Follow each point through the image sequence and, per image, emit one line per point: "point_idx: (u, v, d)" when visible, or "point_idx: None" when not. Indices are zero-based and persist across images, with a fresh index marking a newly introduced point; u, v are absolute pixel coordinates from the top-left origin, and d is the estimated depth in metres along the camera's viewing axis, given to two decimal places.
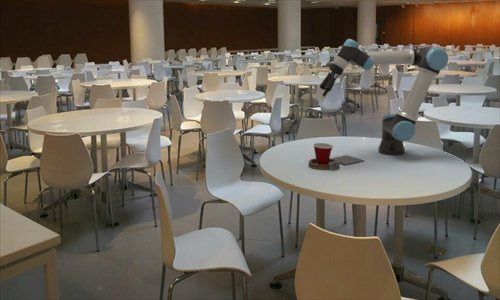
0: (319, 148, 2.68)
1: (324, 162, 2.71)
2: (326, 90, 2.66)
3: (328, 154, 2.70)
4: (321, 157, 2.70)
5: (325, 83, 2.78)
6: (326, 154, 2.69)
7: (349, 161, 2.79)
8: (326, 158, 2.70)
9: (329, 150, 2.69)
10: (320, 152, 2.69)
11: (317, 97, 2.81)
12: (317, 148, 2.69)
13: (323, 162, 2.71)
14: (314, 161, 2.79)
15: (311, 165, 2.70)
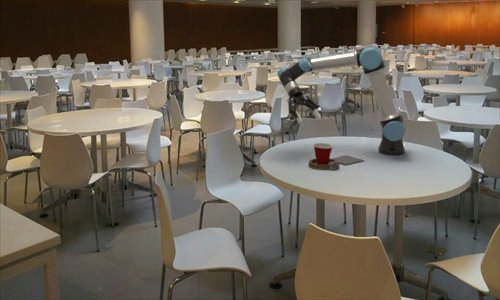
0: (319, 148, 2.68)
1: (324, 162, 2.71)
2: (293, 113, 2.76)
3: (328, 154, 2.70)
4: (321, 157, 2.70)
5: (308, 106, 2.84)
6: (326, 154, 2.69)
7: (349, 161, 2.79)
8: (326, 158, 2.70)
9: (329, 150, 2.69)
10: (320, 152, 2.69)
11: (318, 117, 2.81)
12: (317, 148, 2.69)
13: (323, 162, 2.71)
14: (314, 161, 2.79)
15: (311, 165, 2.70)
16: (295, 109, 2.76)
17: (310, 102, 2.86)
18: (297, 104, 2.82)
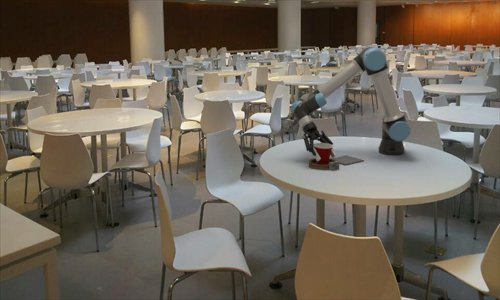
0: (319, 148, 2.68)
1: (324, 162, 2.71)
2: (311, 150, 2.70)
3: (328, 154, 2.70)
4: (321, 157, 2.70)
5: (322, 141, 2.77)
6: (326, 154, 2.69)
7: (349, 161, 2.79)
8: (326, 158, 2.70)
9: (329, 150, 2.69)
10: (320, 152, 2.69)
11: (333, 154, 2.74)
12: (317, 148, 2.68)
13: (323, 162, 2.71)
14: (314, 161, 2.79)
15: (311, 165, 2.70)
16: (313, 146, 2.70)
17: (324, 138, 2.79)
18: None
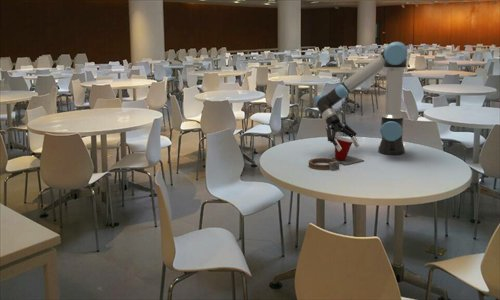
0: (340, 140, 2.76)
1: (343, 155, 2.79)
2: (332, 141, 2.78)
3: (348, 148, 2.78)
4: (341, 149, 2.78)
5: (346, 132, 2.86)
6: (346, 147, 2.77)
7: (349, 161, 2.79)
8: (345, 151, 2.78)
9: (349, 144, 2.78)
10: (341, 144, 2.77)
11: (356, 144, 2.83)
12: (338, 140, 2.77)
13: (342, 155, 2.79)
14: (314, 161, 2.79)
15: (311, 165, 2.70)
16: (334, 137, 2.78)
17: (347, 129, 2.88)
18: (335, 131, 2.84)
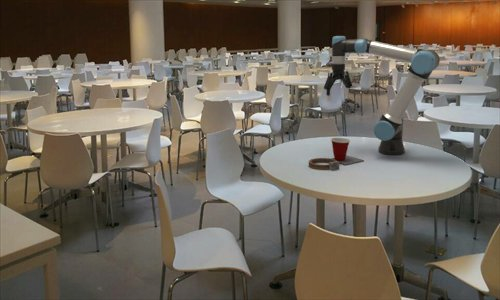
0: (337, 142, 2.76)
1: (341, 156, 2.79)
2: None
3: (345, 148, 2.78)
4: (339, 151, 2.78)
5: (343, 82, 2.96)
6: (343, 148, 2.77)
7: (349, 161, 2.79)
8: (343, 152, 2.78)
9: (346, 144, 2.77)
10: (337, 146, 2.77)
11: (346, 96, 2.98)
12: (335, 142, 2.77)
13: (340, 156, 2.79)
14: (314, 161, 2.79)
15: (311, 165, 2.70)
16: (330, 87, 2.89)
17: (347, 78, 2.96)
18: None
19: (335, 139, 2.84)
